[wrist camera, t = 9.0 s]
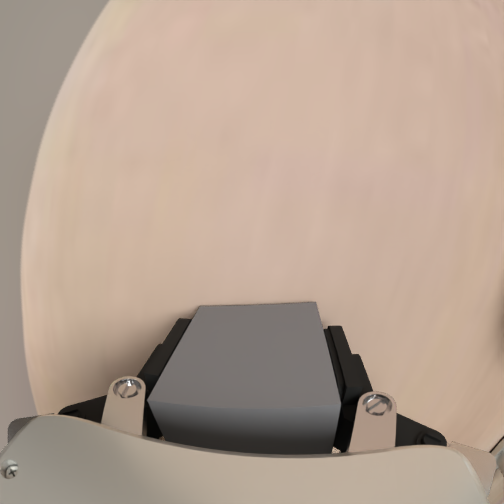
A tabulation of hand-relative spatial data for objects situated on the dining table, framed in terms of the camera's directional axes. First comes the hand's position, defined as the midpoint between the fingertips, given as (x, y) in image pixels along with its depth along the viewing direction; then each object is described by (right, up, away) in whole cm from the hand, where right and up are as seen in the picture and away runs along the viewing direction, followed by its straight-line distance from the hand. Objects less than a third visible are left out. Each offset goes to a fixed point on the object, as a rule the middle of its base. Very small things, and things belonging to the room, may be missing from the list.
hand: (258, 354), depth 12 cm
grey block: (0, -4, +2) cm, 5 cm away
